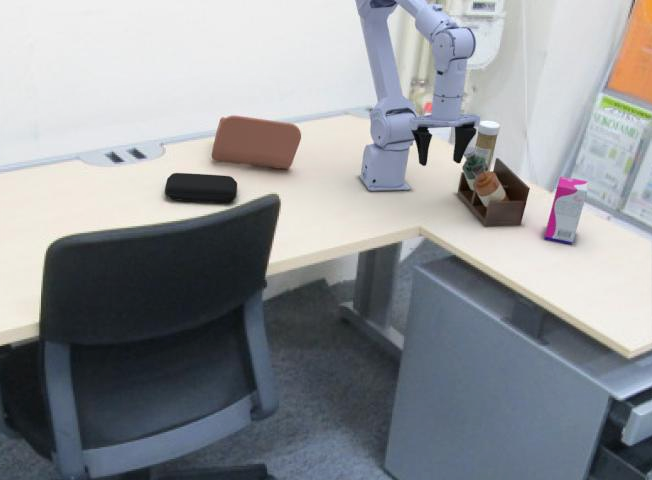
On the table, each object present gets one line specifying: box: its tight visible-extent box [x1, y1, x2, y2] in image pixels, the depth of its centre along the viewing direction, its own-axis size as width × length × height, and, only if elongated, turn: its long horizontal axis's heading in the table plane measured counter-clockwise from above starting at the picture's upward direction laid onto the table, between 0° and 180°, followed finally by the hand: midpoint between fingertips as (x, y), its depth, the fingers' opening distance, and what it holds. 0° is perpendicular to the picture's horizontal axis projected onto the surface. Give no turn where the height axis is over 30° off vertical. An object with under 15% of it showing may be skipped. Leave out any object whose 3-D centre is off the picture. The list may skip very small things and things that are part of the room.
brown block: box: [211, 115, 302, 170], centre depth 200 cm, size 16×17×15 cm
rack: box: [456, 157, 531, 227], centre depth 187 cm, size 8×16×8 cm, turn 12°
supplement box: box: [543, 176, 589, 245], centre depth 178 cm, size 6×6×12 cm
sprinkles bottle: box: [474, 120, 501, 171], centre depth 198 cm, size 5×5×13 cm
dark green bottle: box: [462, 146, 491, 195], centre depth 188 cm, size 5×5×10 cm
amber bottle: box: [472, 163, 509, 210], centre depth 182 cm, size 5×5×10 cm
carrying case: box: [164, 172, 238, 204], centre depth 185 cm, size 11×3×15 cm
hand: (439, 163), depth 181 cm, fingers open, 7 cm apart
